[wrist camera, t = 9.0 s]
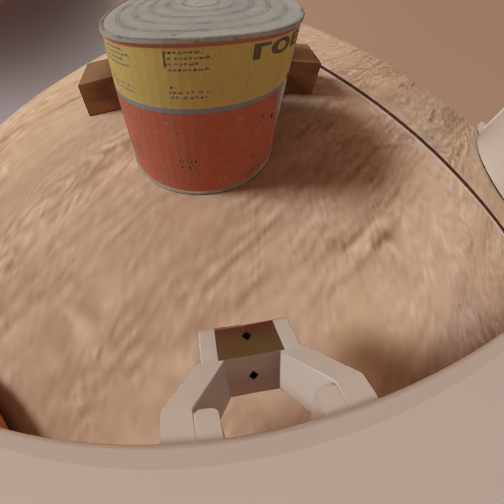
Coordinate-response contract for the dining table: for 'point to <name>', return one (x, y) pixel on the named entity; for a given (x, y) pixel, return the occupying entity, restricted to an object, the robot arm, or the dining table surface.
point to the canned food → (201, 85)
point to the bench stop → (106, 99)
